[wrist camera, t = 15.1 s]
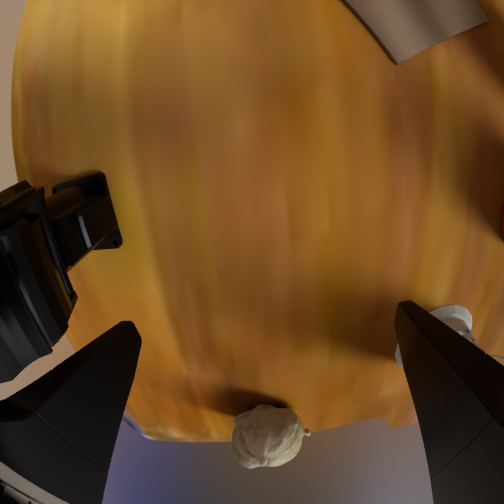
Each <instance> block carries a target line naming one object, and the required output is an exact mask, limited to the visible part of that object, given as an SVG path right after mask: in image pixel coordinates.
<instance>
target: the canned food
mask: <svg viewBox="0 0 504 504" xmlns="http://www.w3.org/2000/svg"><path fill="white" fill-rule="evenodd" d="M502 233H503V236H504V208H503V213H502Z"/></svg>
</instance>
